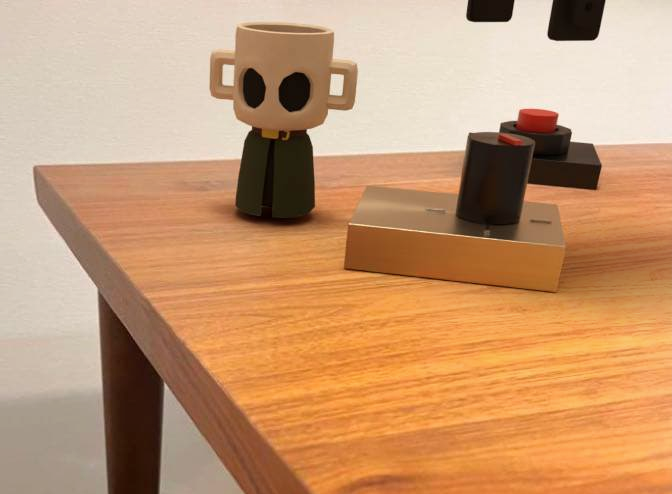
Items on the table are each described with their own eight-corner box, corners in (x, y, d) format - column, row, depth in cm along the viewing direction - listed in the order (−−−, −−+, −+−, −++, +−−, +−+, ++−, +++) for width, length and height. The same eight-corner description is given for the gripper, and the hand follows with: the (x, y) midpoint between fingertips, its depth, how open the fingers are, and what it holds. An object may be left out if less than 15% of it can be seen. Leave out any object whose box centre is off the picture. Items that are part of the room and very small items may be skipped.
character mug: (194, 218, 74) (197, 25, 66) (218, 196, 79) (223, 17, 72) (336, 234, 72) (354, 38, 65) (349, 210, 78) (367, 28, 71)
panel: (548, 245, 72) (558, 201, 70) (556, 292, 63) (567, 244, 61) (362, 225, 74) (367, 182, 72) (343, 268, 65) (348, 221, 63)
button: (553, 130, 92) (557, 110, 91) (555, 137, 89) (559, 117, 88) (515, 127, 92) (518, 107, 91) (515, 134, 89) (519, 113, 88)
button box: (587, 167, 96) (597, 123, 94) (596, 190, 87) (607, 143, 85) (465, 155, 97) (472, 112, 95) (462, 177, 89) (469, 131, 87)
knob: (444, 208, 68) (456, 127, 65) (500, 206, 69) (514, 126, 66) (474, 225, 64) (488, 141, 61) (532, 223, 66) (549, 140, 63)
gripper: (761, -357, 46) (666, 48, 55) (556, -302, 59) (508, 15, 69) (627, -374, 44) (552, 49, 53) (447, -313, 57) (412, 15, 67)
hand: (527, 30), depth 61 cm, fingers open, 9 cm apart
